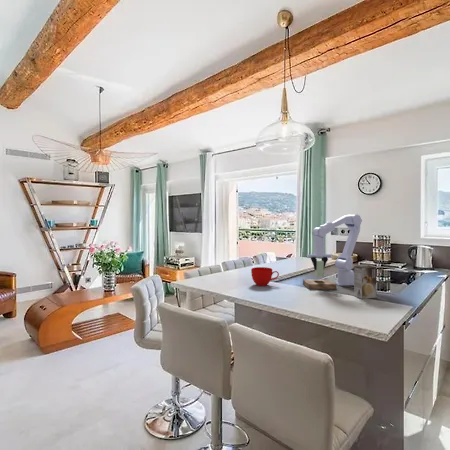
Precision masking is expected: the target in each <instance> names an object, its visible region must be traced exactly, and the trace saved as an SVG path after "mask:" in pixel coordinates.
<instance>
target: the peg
mask: <svg viewBox="0 0 450 450" xmlns="http://www.w3.org/2000/svg"><path fill="white" fill-rule="evenodd" d="M324 272H325V268H324V261H322V260H317V263H316V270H314V276H315V277H321V278H322V277H325V276H324V275H325V273H324Z"/></svg>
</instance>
